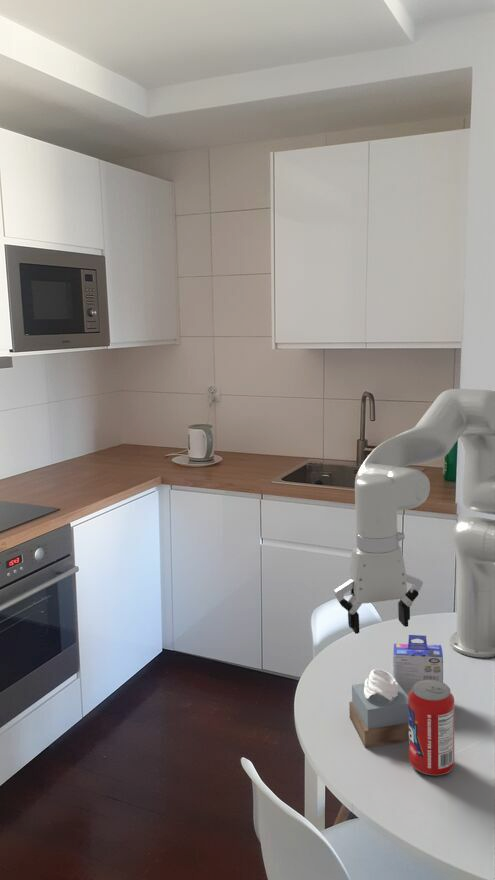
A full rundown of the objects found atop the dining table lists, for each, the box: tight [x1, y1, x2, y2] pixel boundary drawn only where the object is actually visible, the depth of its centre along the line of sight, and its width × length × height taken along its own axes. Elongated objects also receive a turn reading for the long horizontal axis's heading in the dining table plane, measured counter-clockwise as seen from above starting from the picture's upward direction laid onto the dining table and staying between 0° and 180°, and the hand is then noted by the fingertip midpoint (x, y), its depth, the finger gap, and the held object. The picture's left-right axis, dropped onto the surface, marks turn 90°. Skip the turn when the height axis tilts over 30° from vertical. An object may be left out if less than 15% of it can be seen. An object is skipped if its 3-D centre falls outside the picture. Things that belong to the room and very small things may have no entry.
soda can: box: [408, 679, 455, 776], centre depth 124 cm, size 8×8×15 cm
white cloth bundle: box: [364, 668, 398, 700], centre depth 135 cm, size 8×7×5 cm
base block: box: [348, 701, 409, 748], centre depth 136 cm, size 10×10×4 cm
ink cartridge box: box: [392, 634, 444, 696], centre depth 143 cm, size 10×6×14 cm, turn 78°
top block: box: [351, 681, 409, 729], centre depth 136 cm, size 9×9×4 cm
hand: (379, 627), depth 133 cm, fingers open, 9 cm apart
